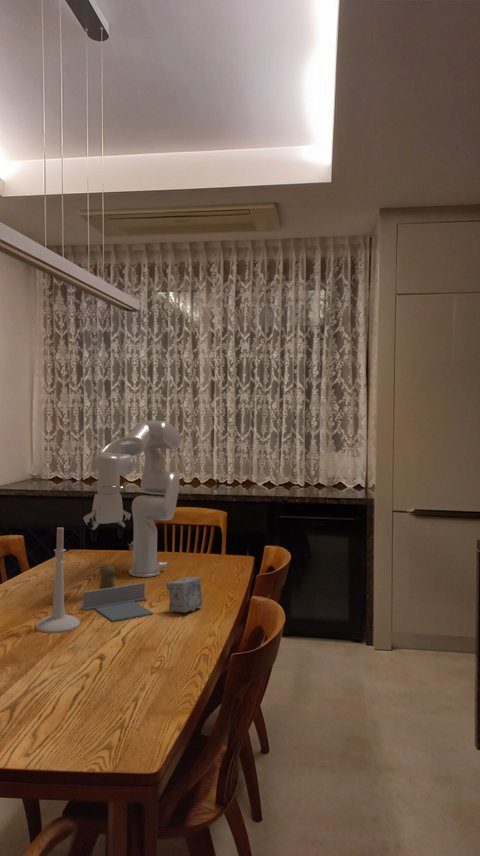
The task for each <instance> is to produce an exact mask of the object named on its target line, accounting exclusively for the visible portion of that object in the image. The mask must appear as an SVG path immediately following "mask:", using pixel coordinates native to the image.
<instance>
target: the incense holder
mask: <svg viewBox="0 0 480 856" xmlns="http://www.w3.org/2000/svg"><path fill="white" fill-rule="evenodd" d="M201 585H202V584H201V578H200V577H199V576H189V577H188V576H186V577H184V576H183V577H181V578H180V579H177V580H174V581H167V582H166V590H168V593H169V604H168V605H169V606H168V610H169V612H171V613H172V612H173V613H187V612H192V613H194V612H195V610H197V608H199V607H202V606H203V596H202V595H203V594H202V593H203V592H202V586H201Z"/></svg>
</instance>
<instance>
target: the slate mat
mask: <svg viewBox="0 0 480 856" xmlns="http://www.w3.org/2000/svg"><path fill="white" fill-rule="evenodd" d="M94 610H95V612H97V613H99V614H100V615H102V616H103V617H104V618H106V619H107V620H109V621H110V622H112V623H117V622H120V621H126V620H127V621H128V620H132V619H131V618H133V619H137V618H136V617H138V618H141V617H142V616H143V617H147V615H148V616H152V614H153V615H154V612H153V611H151V610H149V609H148V608H146V607H144V606H142V605H141V604H139V602H134V601H133V602H127V603H121V604H116V605H110V606H104V607H98V608H95V609H94Z"/></svg>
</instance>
